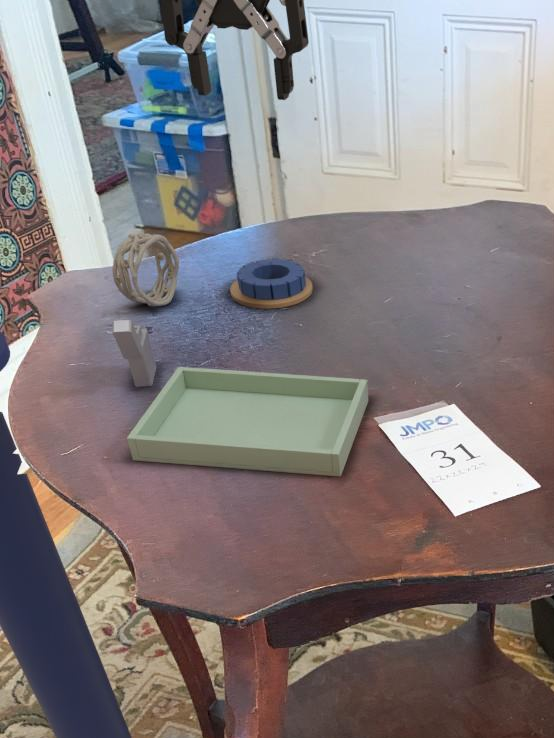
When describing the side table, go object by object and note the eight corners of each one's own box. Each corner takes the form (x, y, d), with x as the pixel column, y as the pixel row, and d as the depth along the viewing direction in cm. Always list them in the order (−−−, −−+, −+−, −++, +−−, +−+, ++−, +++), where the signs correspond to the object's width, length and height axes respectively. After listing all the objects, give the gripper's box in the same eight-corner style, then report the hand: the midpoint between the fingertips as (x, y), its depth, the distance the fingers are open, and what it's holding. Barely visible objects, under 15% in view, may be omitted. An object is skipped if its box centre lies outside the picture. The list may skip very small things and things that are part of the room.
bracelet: (189, 292, 104) (175, 225, 99) (148, 318, 99) (131, 249, 94) (162, 286, 105) (147, 220, 100) (120, 312, 100) (102, 243, 95)
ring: (231, 298, 102) (228, 283, 101) (250, 271, 108) (248, 257, 106) (296, 302, 101) (294, 287, 100) (312, 275, 107) (310, 260, 106)
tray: (132, 460, 78) (126, 438, 76) (183, 387, 87) (178, 366, 86) (340, 476, 76) (338, 454, 75) (368, 400, 86) (367, 379, 84)
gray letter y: (139, 367, 90) (120, 294, 85) (156, 366, 91) (138, 293, 85) (131, 401, 85) (110, 326, 80) (148, 400, 86) (129, 325, 80)
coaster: (220, 306, 102) (219, 301, 101) (244, 272, 109) (243, 268, 108) (301, 311, 101) (301, 306, 100) (320, 277, 108) (320, 272, 108)
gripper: (305, -103, 81) (318, 92, 92) (160, -109, 82) (191, 84, 93) (283, -97, 75) (300, 109, 86) (129, -104, 76) (165, 100, 87)
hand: (243, 96), depth 90 cm, fingers open, 8 cm apart
